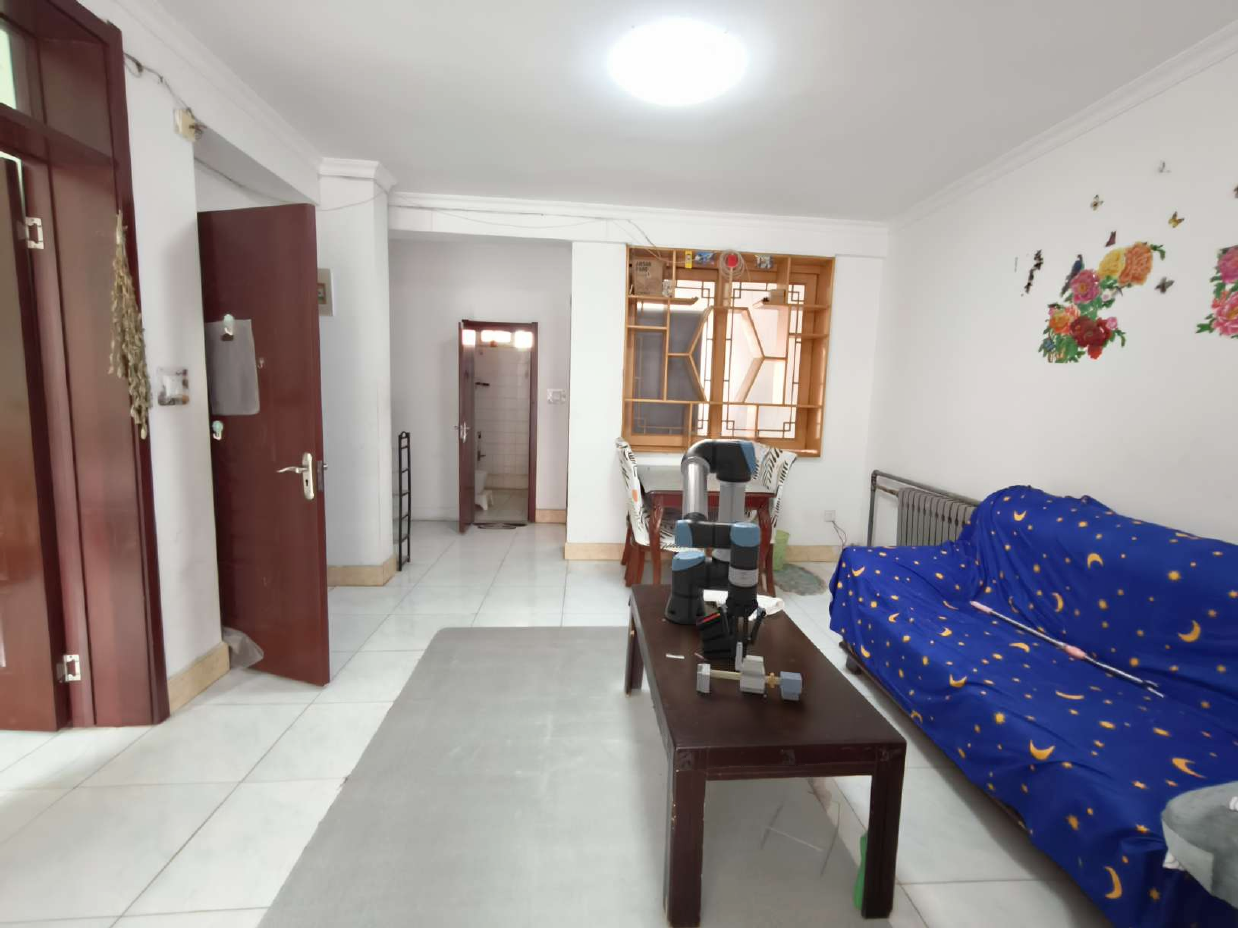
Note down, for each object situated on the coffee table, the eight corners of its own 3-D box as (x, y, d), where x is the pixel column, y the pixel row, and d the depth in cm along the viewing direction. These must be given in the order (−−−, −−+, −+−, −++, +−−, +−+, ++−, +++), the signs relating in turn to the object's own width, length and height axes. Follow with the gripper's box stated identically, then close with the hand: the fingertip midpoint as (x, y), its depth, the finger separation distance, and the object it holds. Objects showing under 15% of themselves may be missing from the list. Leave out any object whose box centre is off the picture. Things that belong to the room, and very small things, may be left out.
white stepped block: (739, 680, 148) (741, 652, 147) (762, 683, 146) (764, 654, 146) (740, 690, 142) (742, 661, 142) (763, 693, 141) (765, 663, 140)
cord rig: (697, 680, 150) (698, 660, 149) (798, 691, 145) (799, 671, 145) (696, 691, 144) (697, 670, 144) (801, 703, 140) (802, 682, 139)
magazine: (750, 653, 163) (731, 610, 161) (710, 671, 163) (691, 628, 161) (747, 648, 167) (728, 605, 165) (708, 665, 167) (689, 623, 165)
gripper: (717, 584, 139) (713, 671, 142) (769, 589, 137) (764, 677, 140) (717, 575, 147) (713, 658, 149) (767, 579, 144) (762, 663, 147)
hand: (738, 667), depth 145 cm, fingers closed
